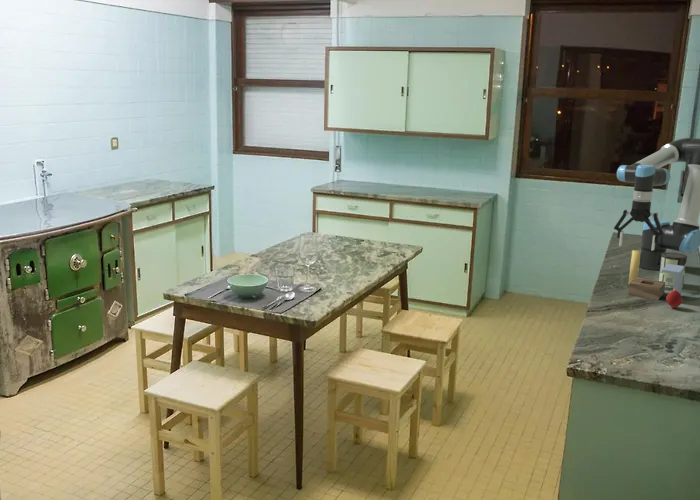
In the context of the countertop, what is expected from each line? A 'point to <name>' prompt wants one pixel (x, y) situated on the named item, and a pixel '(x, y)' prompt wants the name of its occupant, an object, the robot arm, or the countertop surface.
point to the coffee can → (675, 260)
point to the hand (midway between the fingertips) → (636, 247)
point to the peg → (634, 265)
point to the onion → (674, 298)
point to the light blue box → (678, 273)
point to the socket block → (646, 288)
